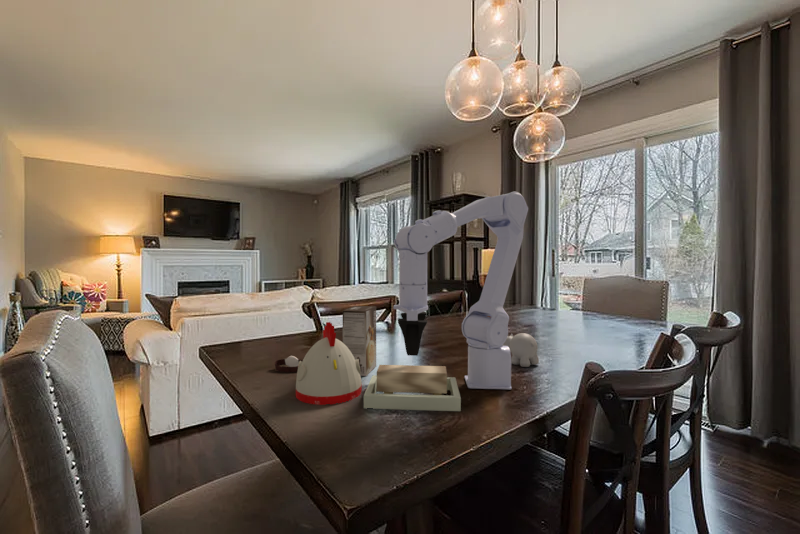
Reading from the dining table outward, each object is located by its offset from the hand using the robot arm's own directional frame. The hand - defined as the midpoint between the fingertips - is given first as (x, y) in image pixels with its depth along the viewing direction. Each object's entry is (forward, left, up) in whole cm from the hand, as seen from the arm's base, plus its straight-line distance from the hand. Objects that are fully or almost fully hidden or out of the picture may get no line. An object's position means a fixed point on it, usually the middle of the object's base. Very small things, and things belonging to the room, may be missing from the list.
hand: (413, 350), depth 78 cm
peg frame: (0, 0, -10) cm, 10 cm away
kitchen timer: (+18, -2, -10) cm, 21 cm away
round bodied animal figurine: (-28, -29, -10) cm, 42 cm away
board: (0, 0, -8) cm, 8 cm away
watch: (+32, -17, -10) cm, 38 cm away
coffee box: (+14, -18, -10) cm, 25 cm away
